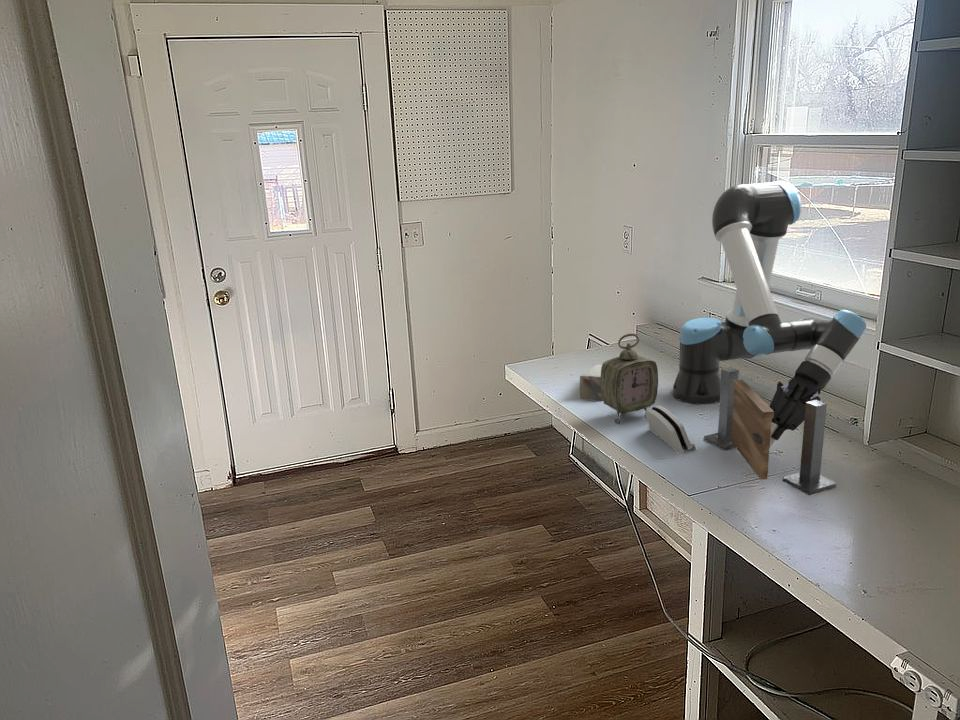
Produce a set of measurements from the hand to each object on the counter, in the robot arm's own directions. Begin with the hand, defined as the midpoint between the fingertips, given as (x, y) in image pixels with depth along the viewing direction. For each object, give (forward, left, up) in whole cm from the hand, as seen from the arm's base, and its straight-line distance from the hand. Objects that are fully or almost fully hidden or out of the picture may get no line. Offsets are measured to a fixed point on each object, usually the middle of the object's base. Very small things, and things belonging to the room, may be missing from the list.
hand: (761, 447), depth 179 cm
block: (-14, -65, -6) cm, 67 cm away
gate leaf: (+1, -3, -4) cm, 5 cm away
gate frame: (-4, -1, -5) cm, 7 cm away
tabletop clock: (-3, -44, -6) cm, 45 cm away
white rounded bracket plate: (+2, -26, -6) cm, 26 cm away
